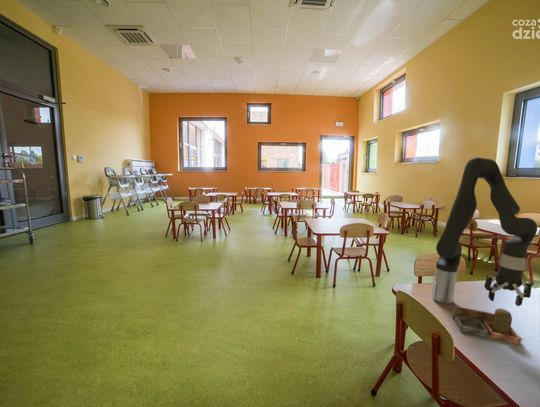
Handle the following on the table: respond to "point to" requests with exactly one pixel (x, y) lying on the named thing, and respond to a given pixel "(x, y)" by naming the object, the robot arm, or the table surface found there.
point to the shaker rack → (482, 324)
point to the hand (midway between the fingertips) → (504, 302)
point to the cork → (501, 322)
